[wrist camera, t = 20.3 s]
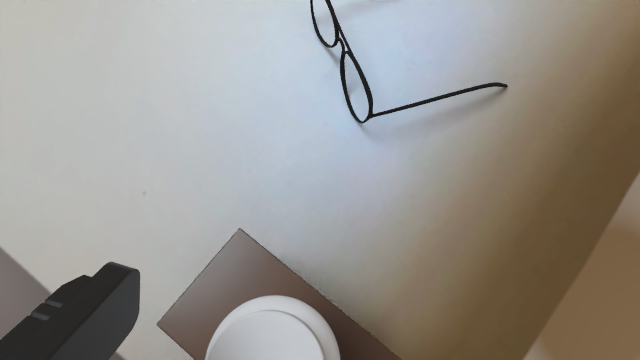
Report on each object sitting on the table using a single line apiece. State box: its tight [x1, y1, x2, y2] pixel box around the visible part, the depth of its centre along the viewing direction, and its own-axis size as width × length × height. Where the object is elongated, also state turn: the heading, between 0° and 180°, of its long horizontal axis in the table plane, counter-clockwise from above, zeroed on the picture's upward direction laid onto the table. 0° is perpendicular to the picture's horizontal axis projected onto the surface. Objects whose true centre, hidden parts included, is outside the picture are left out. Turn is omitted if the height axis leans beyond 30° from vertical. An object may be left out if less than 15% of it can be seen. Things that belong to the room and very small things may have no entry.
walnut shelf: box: [157, 228, 401, 360], centre depth 27 cm, size 13×7×9 cm, turn 52°
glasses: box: [310, 0, 508, 123], centre depth 38 cm, size 14×15×5 cm
